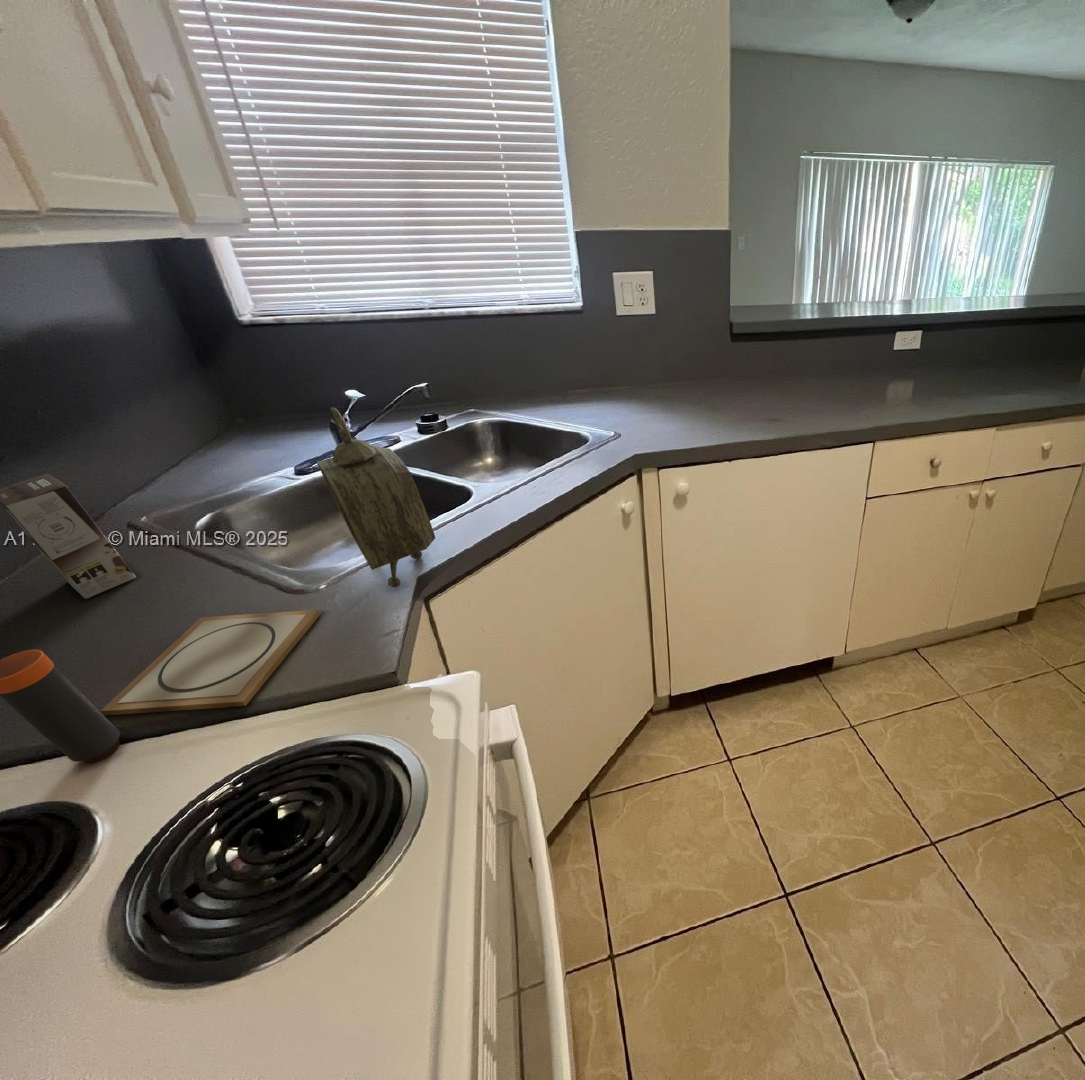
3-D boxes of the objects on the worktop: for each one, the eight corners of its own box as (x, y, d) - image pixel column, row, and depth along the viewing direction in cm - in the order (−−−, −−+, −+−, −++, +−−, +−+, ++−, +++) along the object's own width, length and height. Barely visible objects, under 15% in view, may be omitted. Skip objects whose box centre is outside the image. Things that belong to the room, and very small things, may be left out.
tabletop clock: (361, 556, 89) (288, 404, 76) (420, 534, 94) (361, 387, 80) (386, 598, 80) (307, 434, 66) (450, 571, 85) (389, 413, 71)
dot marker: (63, 770, 58) (-35, 683, 51) (99, 736, 62) (11, 650, 55) (105, 767, 58) (12, 680, 51) (137, 733, 62) (55, 647, 55)
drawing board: (104, 715, 64) (98, 710, 64) (204, 621, 78) (200, 616, 77) (245, 706, 65) (241, 700, 64) (321, 613, 78) (318, 608, 77)
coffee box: (139, 577, 87) (68, 485, 78) (84, 600, 83) (2, 506, 74) (119, 560, 92) (49, 471, 83) (66, 582, 87) (-14, 490, 78)
